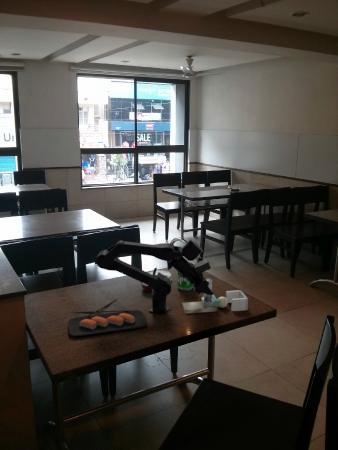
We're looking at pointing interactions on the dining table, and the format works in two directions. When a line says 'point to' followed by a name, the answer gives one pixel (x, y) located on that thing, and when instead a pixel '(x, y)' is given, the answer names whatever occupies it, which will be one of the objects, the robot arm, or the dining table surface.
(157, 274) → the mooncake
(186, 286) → the soda can
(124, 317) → the sushi plate
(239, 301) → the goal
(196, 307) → the beige flat block
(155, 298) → the robot arm
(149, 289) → the cocoa
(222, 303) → the ball
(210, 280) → the striker
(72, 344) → the dining table surface
